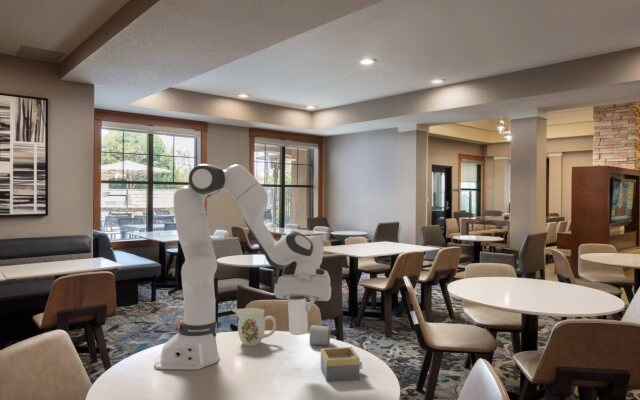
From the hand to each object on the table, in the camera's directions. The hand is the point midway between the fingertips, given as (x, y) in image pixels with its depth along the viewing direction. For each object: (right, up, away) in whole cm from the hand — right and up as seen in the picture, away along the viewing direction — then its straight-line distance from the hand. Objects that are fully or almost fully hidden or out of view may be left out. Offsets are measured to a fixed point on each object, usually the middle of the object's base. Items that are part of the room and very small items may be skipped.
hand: (298, 309), depth 150 cm
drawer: (+14, -22, -2) cm, 26 cm away
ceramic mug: (+7, -22, +30) cm, 37 cm away
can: (0, -8, +1) cm, 8 cm away
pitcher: (-20, -21, +29) cm, 41 cm away
